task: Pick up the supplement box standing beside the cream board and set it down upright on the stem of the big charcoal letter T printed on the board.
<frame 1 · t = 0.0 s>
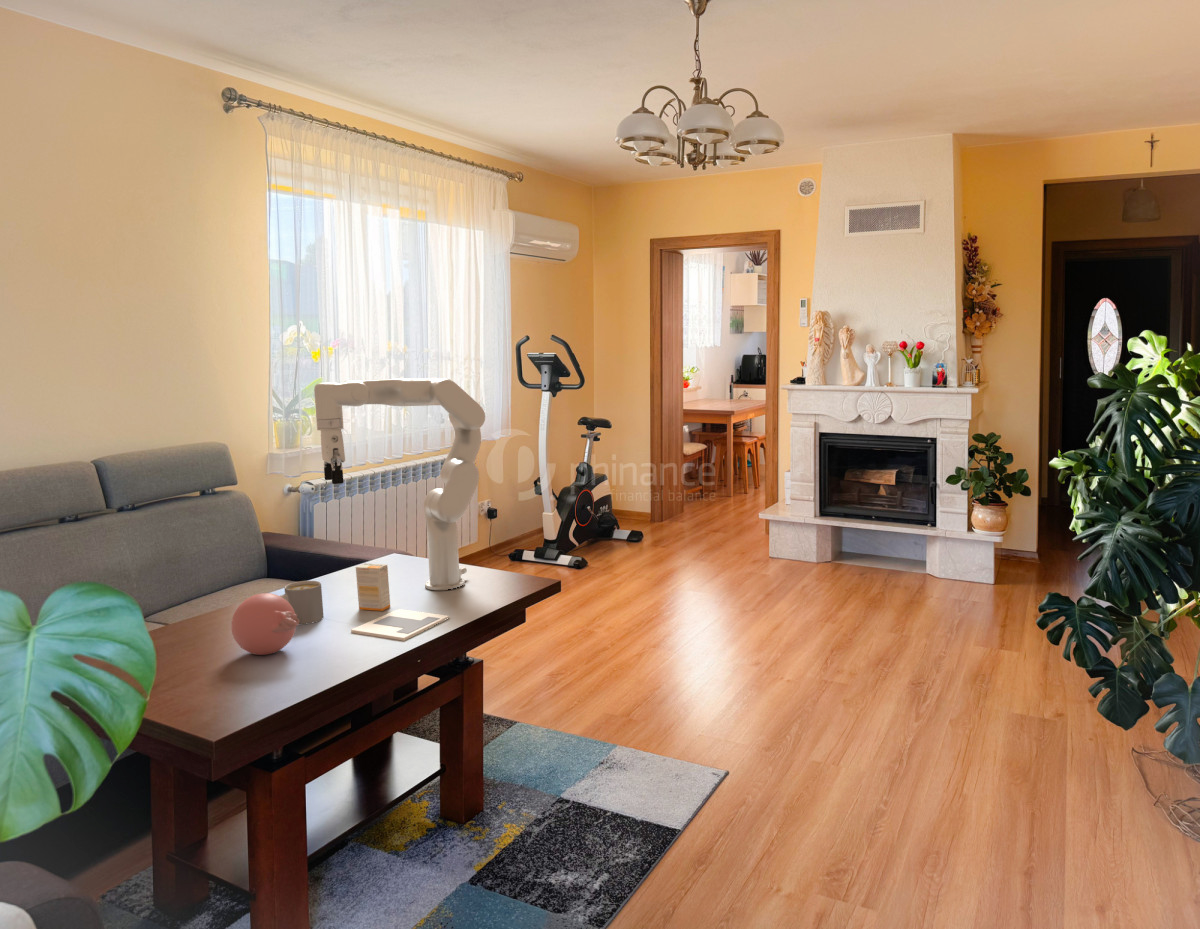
hand: (334, 481, 258), 37 cm above the table, tool pointing down, fingers open, 9 cm apart
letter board: (401, 625, 240), on the table
balloon: (272, 655, 219), on the table
coffee mug: (299, 620, 247), on the table
supplement box: (374, 609, 257), on the table
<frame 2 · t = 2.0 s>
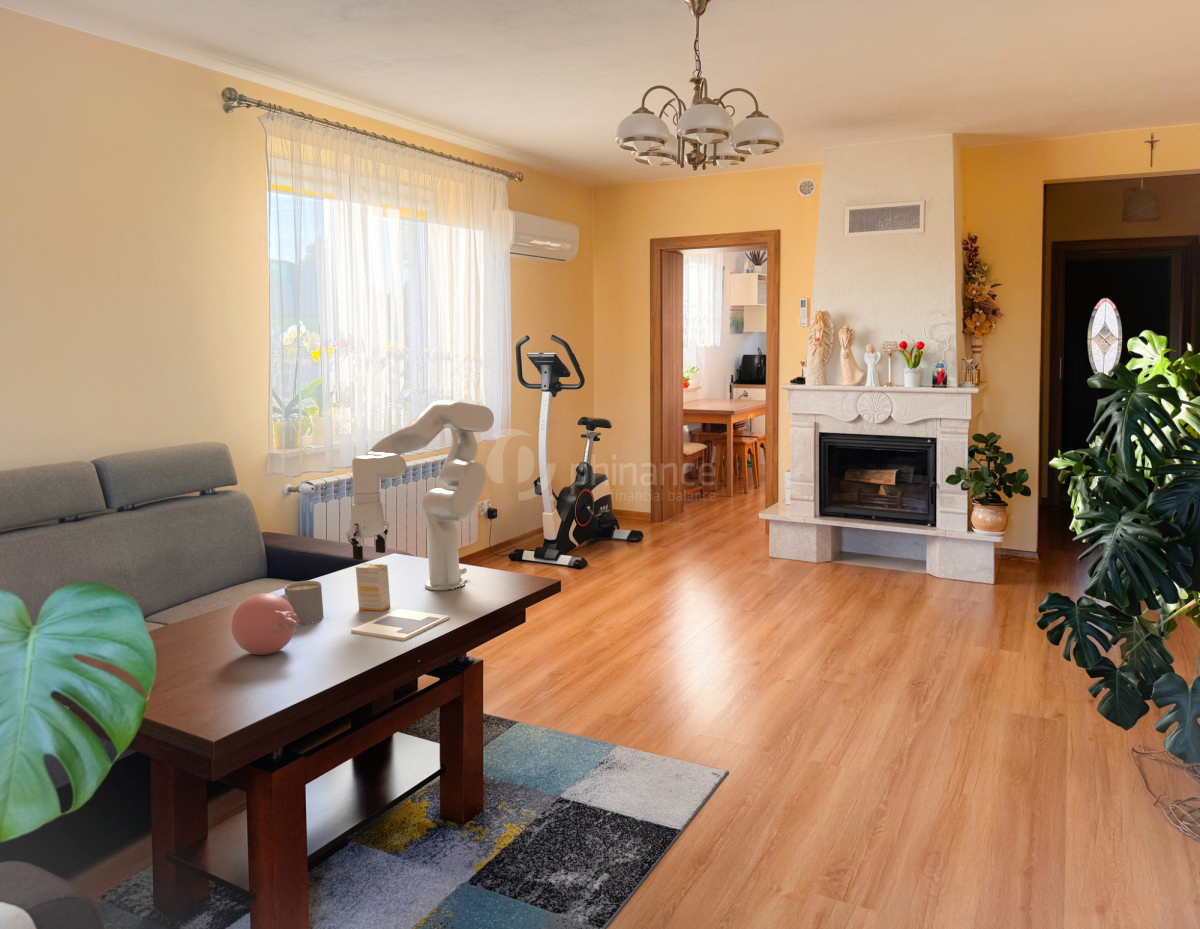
hand: (369, 555, 254), 16 cm above the table, tool pointing down, fingers open, 9 cm apart
nothing on the table moved.
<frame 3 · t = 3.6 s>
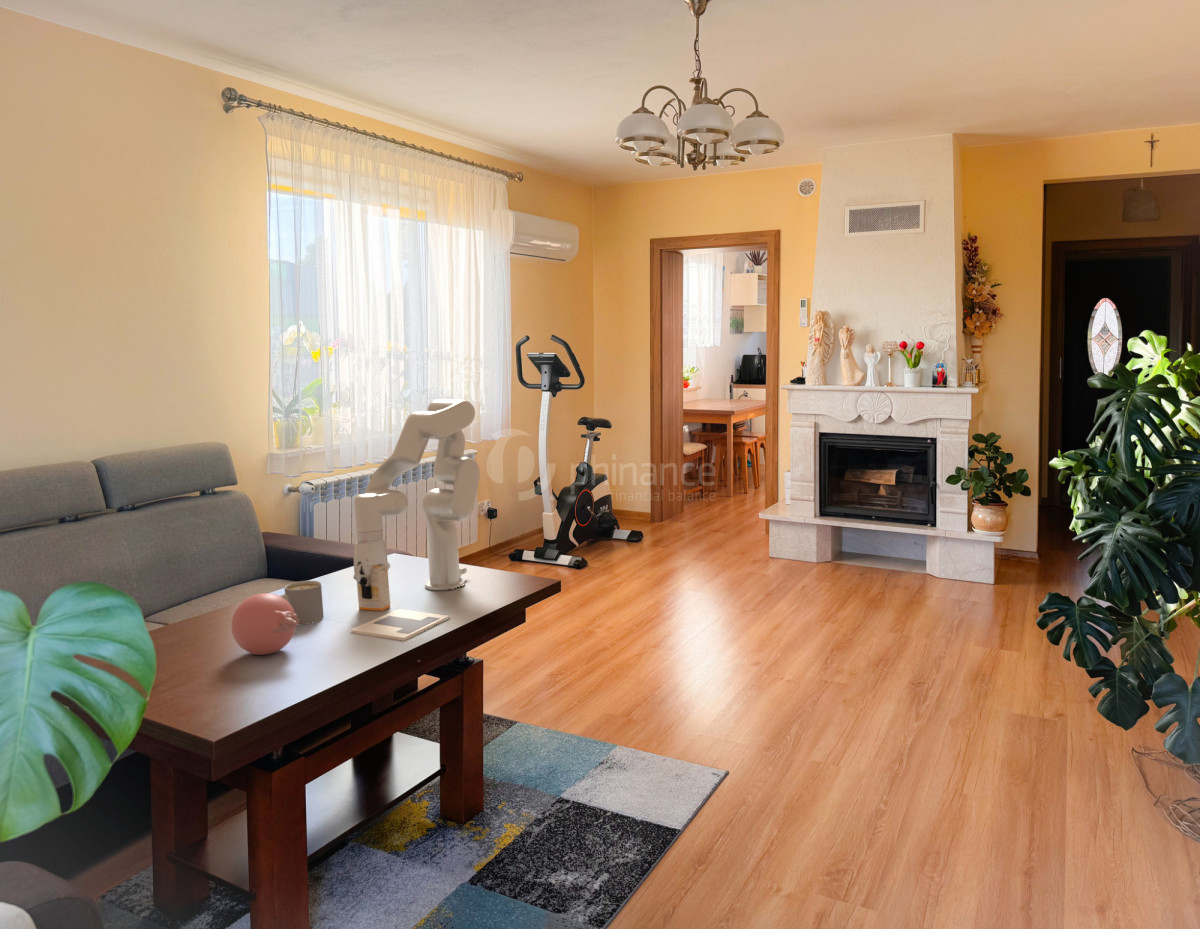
hand: (373, 595, 256), 4 cm above the table, tool pointing down, fingers closed on supplement box, 5 cm apart
supplement box: (374, 608, 257), on the table, touching gripper
everything else where it was.
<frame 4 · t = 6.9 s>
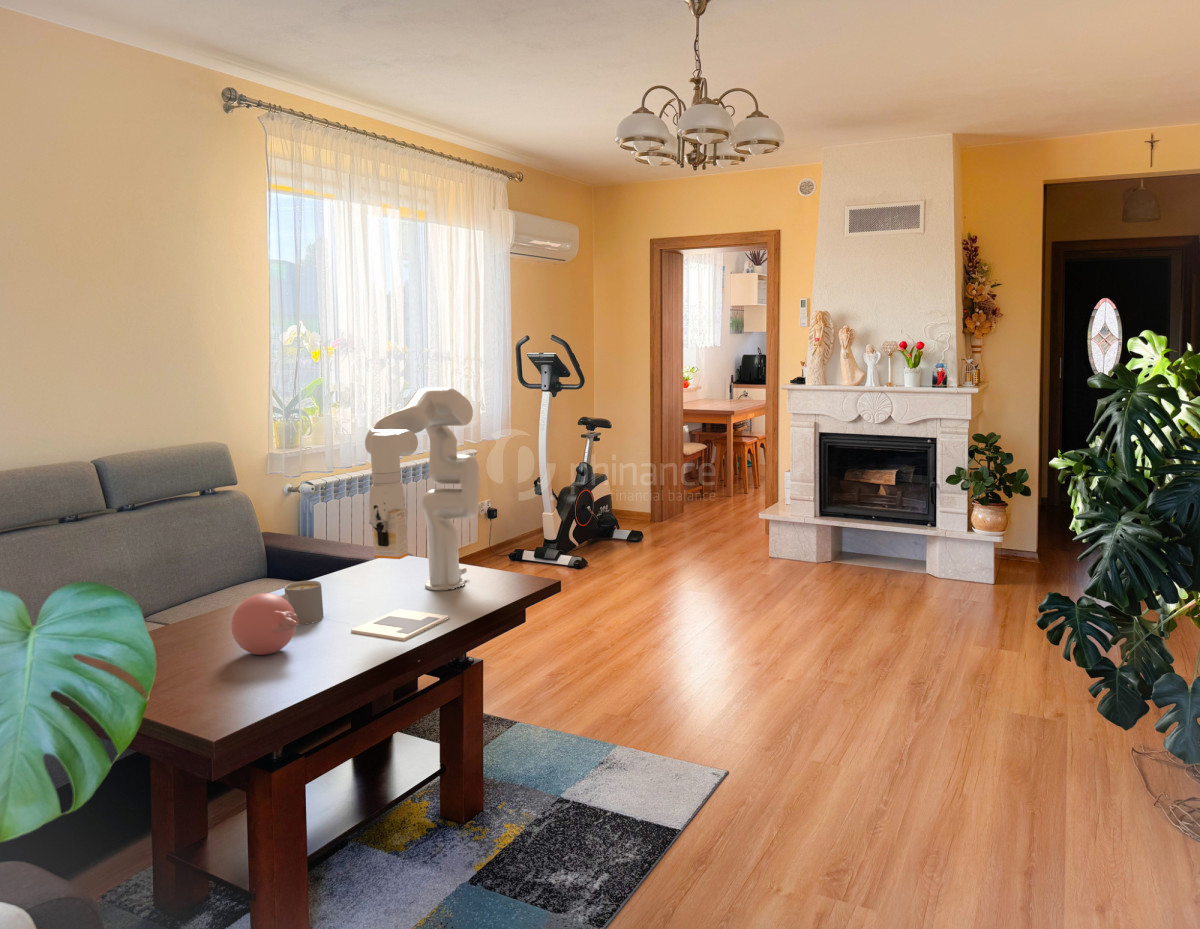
hand: (390, 542, 238), 23 cm above the table, tool pointing down, fingers closed on supplement box, 5 cm apart
supplement box: (391, 557, 238), point 19 cm above the table, touching gripper
everything else where it was.
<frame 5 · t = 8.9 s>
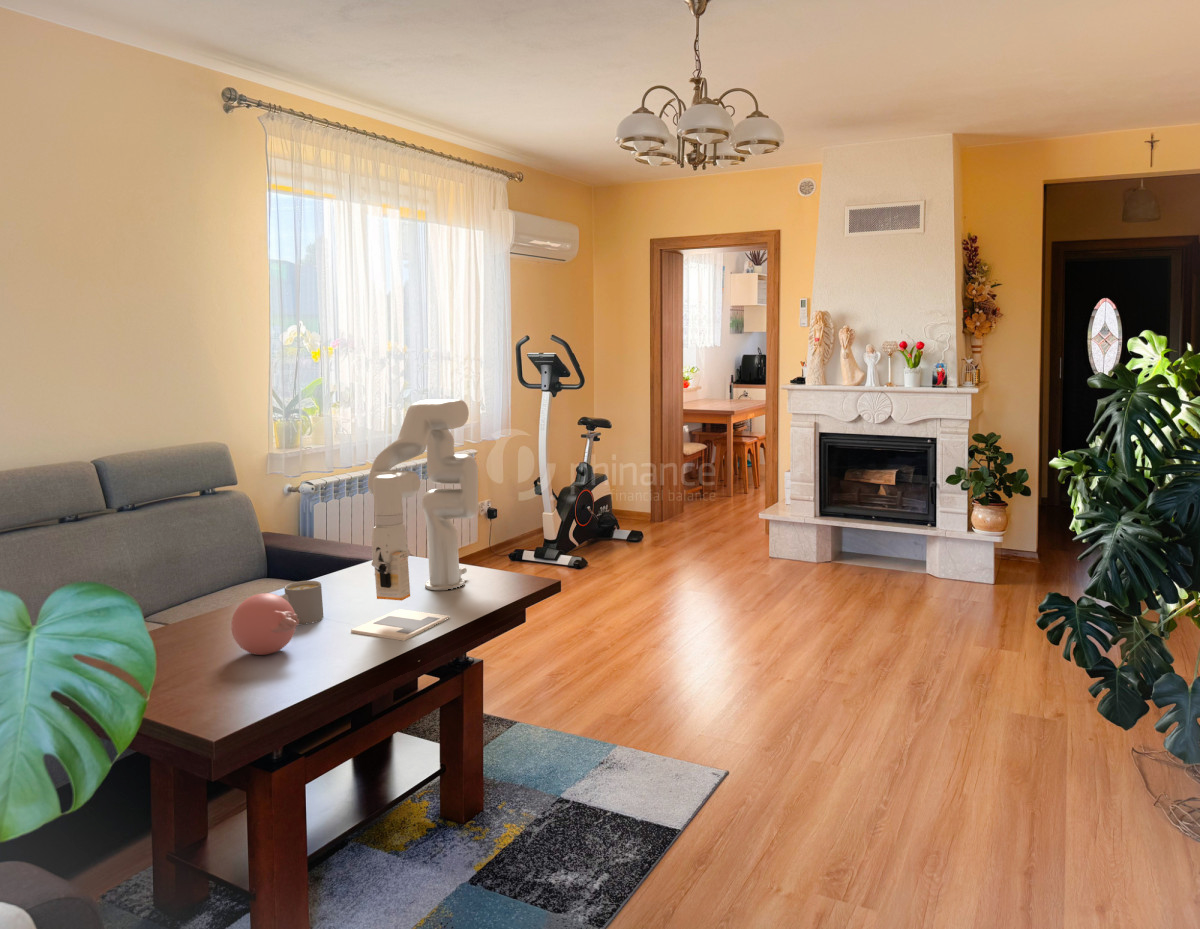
hand: (392, 583, 239), 12 cm above the table, tool pointing down, fingers closed on supplement box, 5 cm apart
supplement box: (393, 598, 240), point 8 cm above the table, touching gripper
everything else where it was.
when the fingers open (6 cm above the table, at t = 10.4 s): supplement box drops 1 cm, resting on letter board.
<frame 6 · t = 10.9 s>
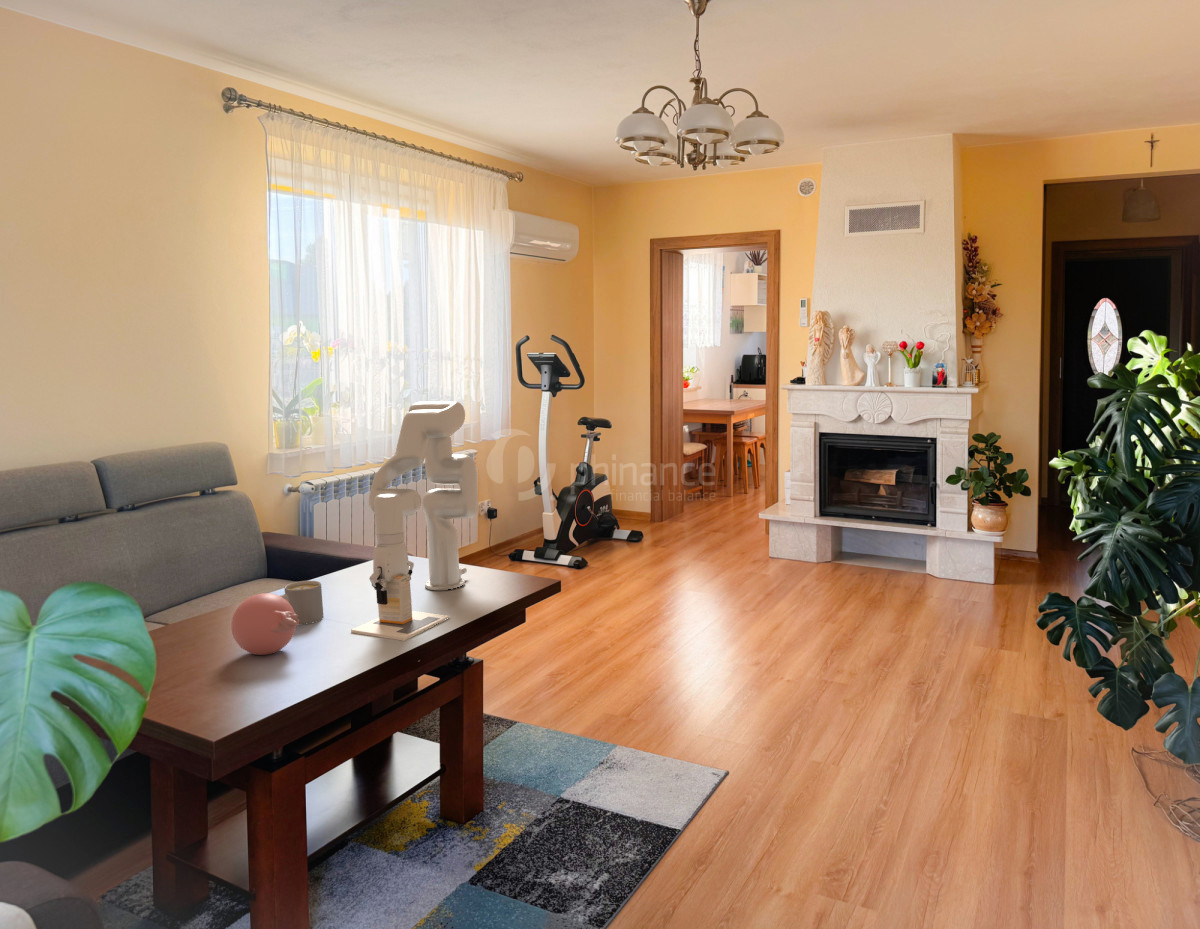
hand: (394, 599, 240), 7 cm above the table, tool pointing down, fingers open, 9 cm apart
supplement box: (396, 621, 241), point 1 cm above the table, touching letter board
everything else where it was.
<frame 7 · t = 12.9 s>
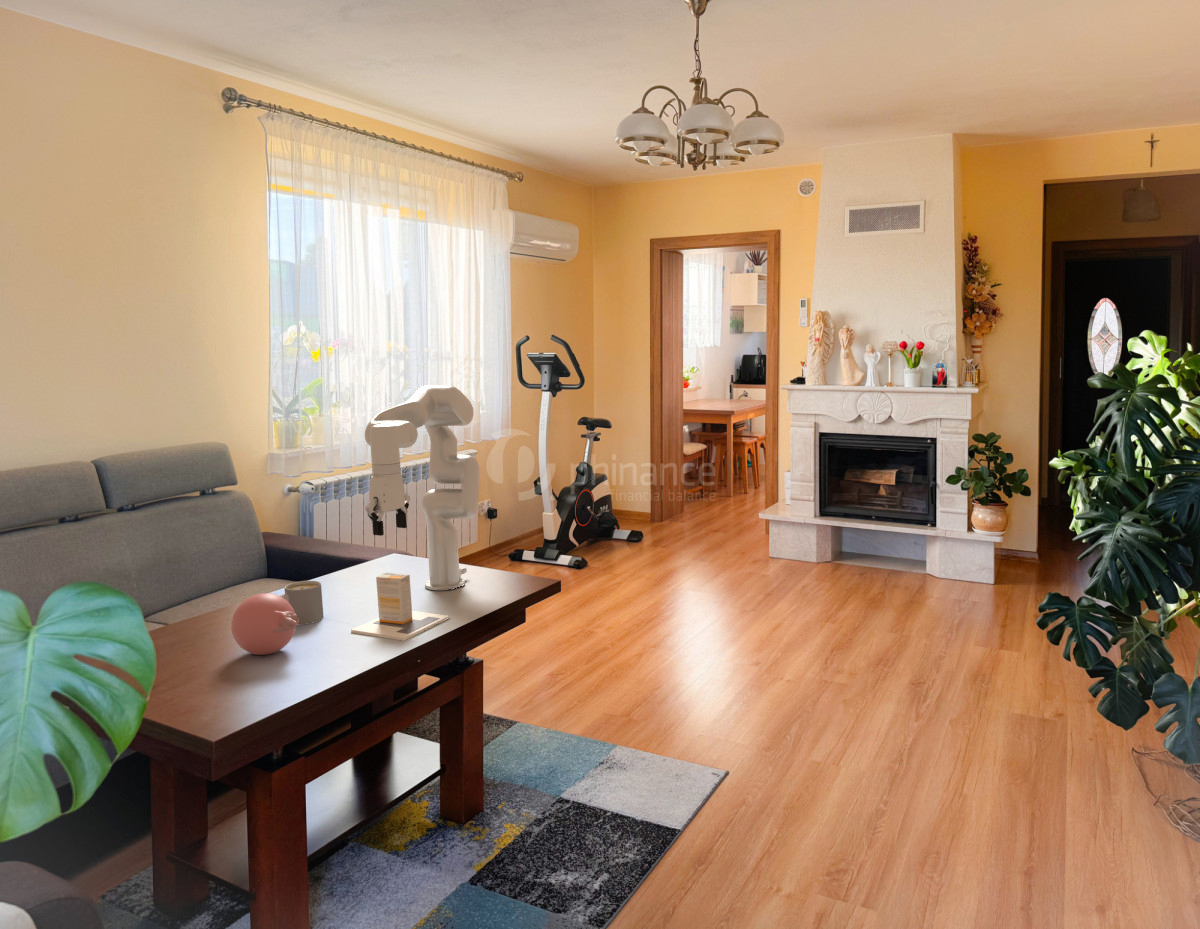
hand: (390, 531, 238), 26 cm above the table, tool pointing down, fingers open, 9 cm apart
nothing on the table moved.
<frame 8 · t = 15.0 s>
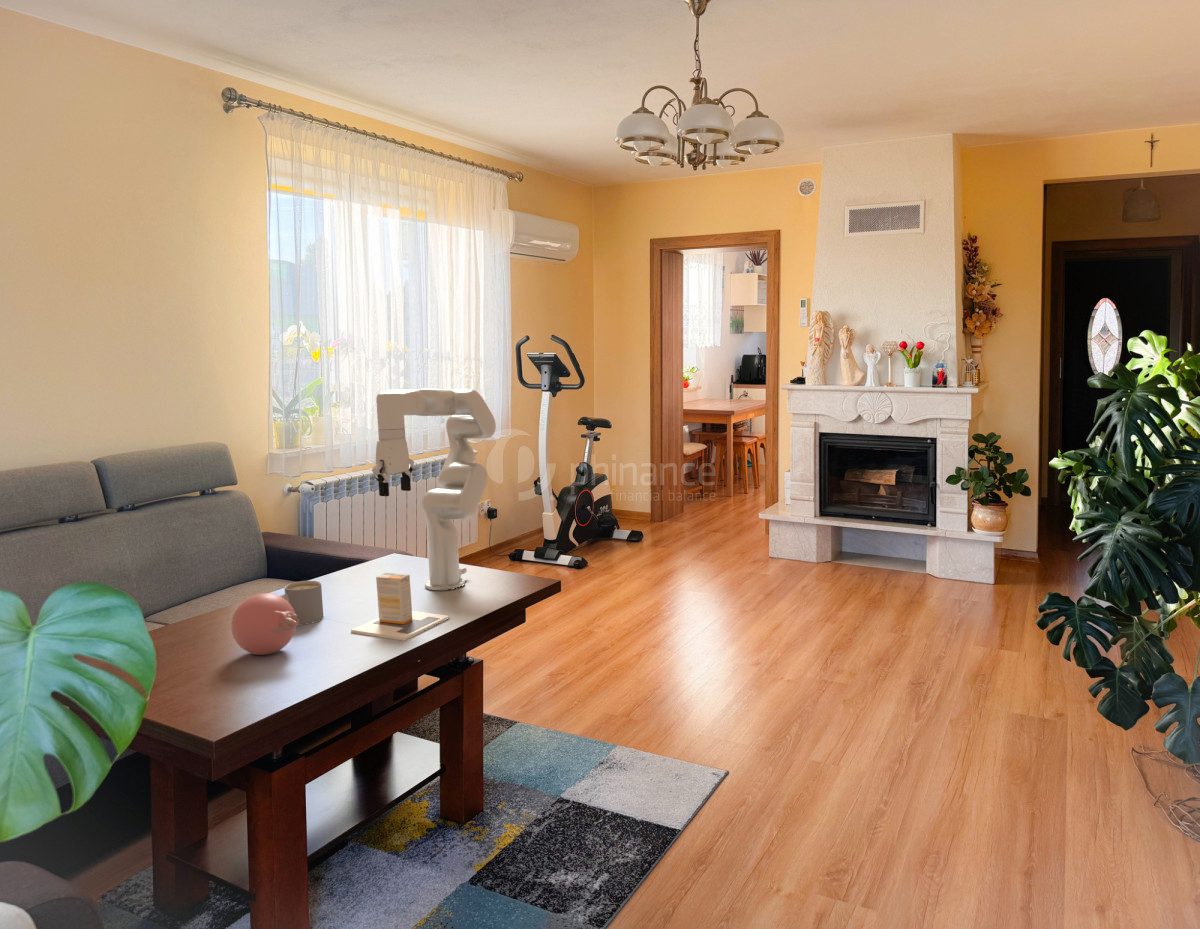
hand: (395, 493, 252), 34 cm above the table, tool pointing down, fingers open, 9 cm apart
nothing on the table moved.
at the end: supplement box 0.4 cm from the target spot on the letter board, point 0.7 cm above the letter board's base; supplement box tilted 0°; the gripper is holding nothing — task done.
